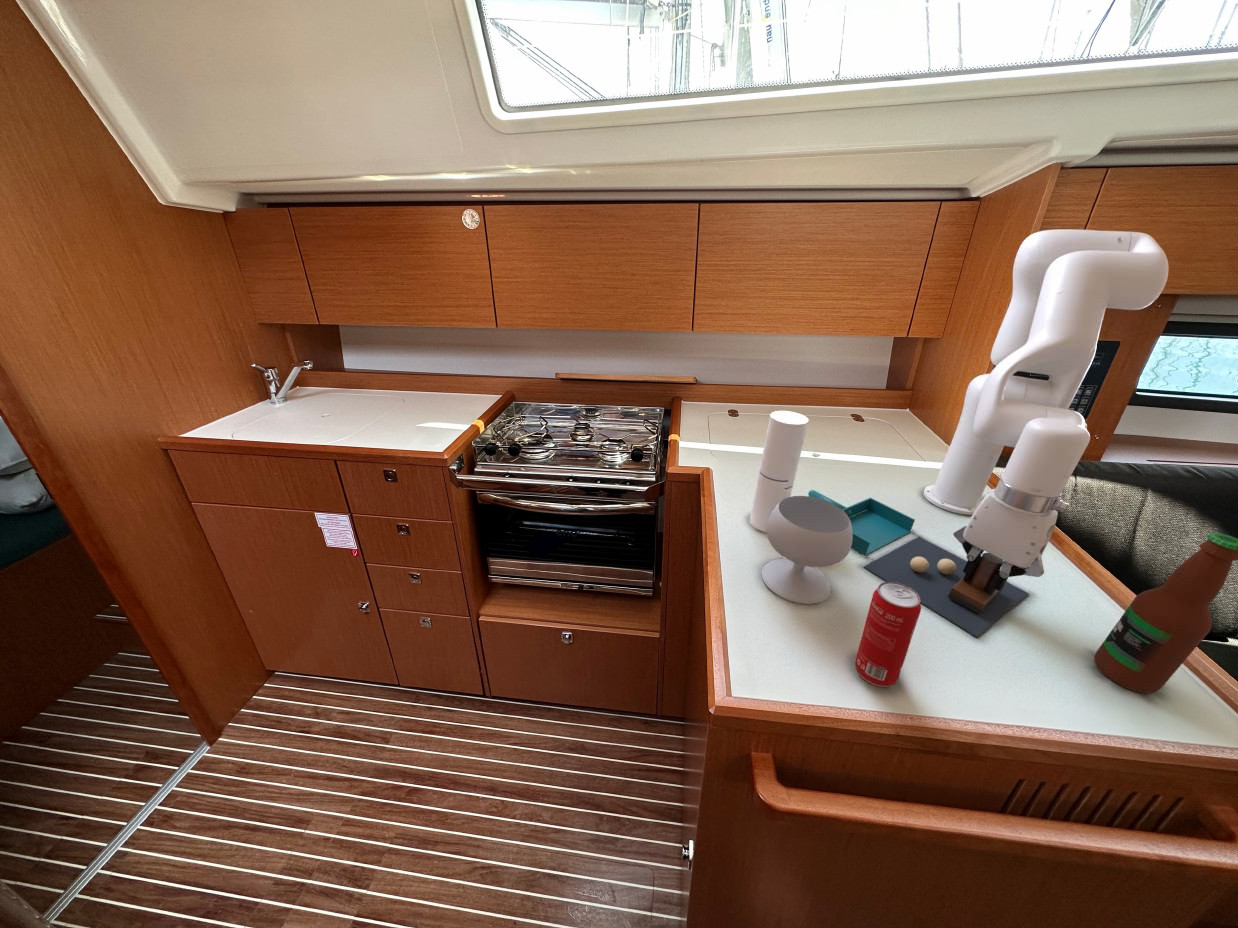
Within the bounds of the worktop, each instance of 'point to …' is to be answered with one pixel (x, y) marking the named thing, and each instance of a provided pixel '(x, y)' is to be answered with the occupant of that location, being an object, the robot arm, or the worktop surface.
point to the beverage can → (887, 633)
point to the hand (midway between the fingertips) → (980, 583)
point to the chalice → (805, 547)
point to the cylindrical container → (778, 464)
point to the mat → (942, 585)
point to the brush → (978, 585)
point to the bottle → (1167, 620)
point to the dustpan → (872, 523)
